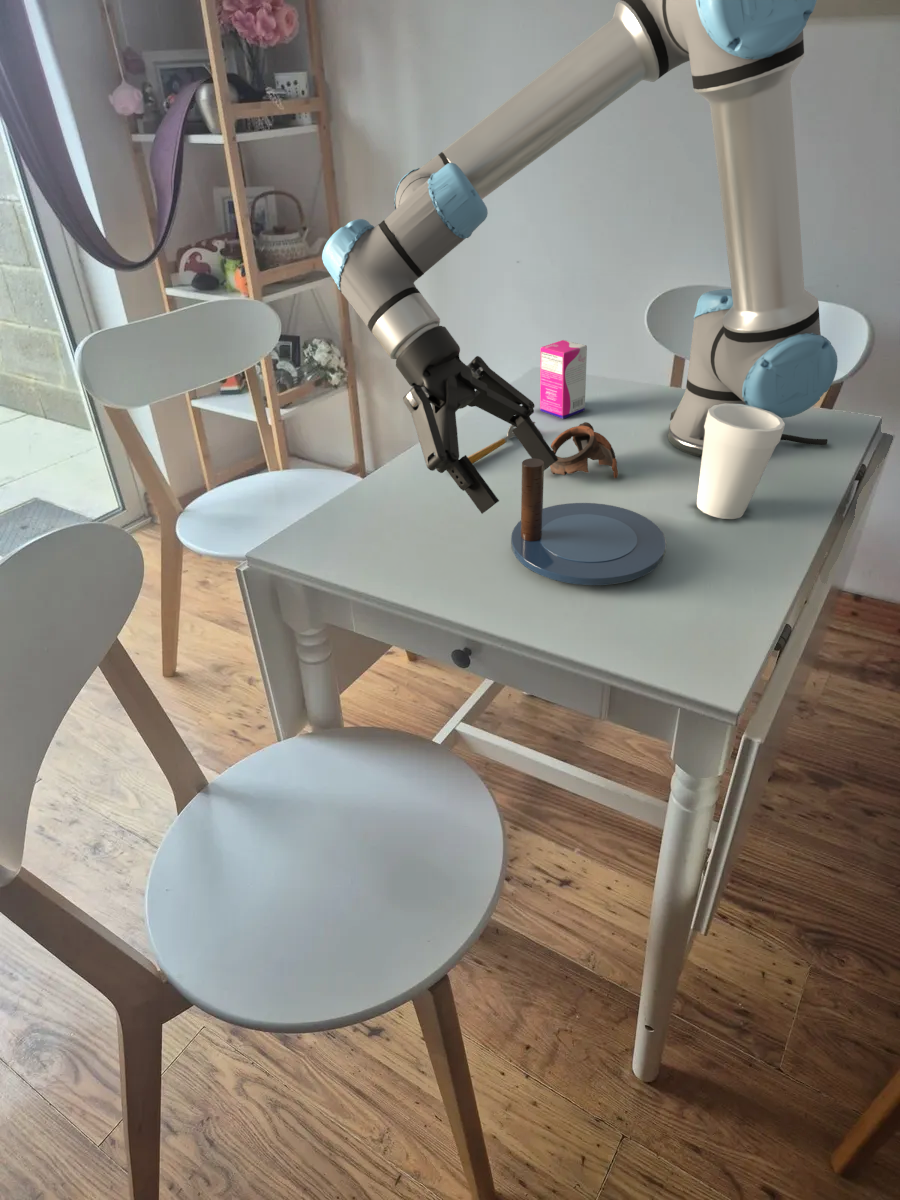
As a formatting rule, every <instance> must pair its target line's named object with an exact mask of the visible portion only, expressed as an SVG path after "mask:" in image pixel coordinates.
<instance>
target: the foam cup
mask: <svg viewBox="0 0 900 1200" xmlns="http://www.w3.org/2000/svg"><path fill="white" fill-rule="evenodd" d="M785 426H786V423H785V422H784V420H783V418H780V417H779V416H777V415H775V414H774V413H772V412H770V411H767V410H764V409H761V408H757V407H753V406H748V405H743V404H727V403H725V404H719V405H714V406H712V407H711V408H710V409H709V410H708V413H707V417H706V421H705V425H704V428H705V436H704V444H703V452H702V457H701V460H700V469H699V480H698V487H697V495H696V507H697V508H698V510H700V511H701V512H702V513H703V514H706V515H708V516H710V517H714V518H718V519H723V520H735V519H739V518H741V517H743V515H744V514H745V511H746V510H747V509H748V506H749V504H750V502H751V500H752V498H753V495H754V494H755V491H756V489H757V487H758V485H759V483H760V481H761V479H762V476H763V475H764V472H765V471H766V468H767V467H768V464H769V461H770V460H771V457H772V455H773V453H774V451H775V449H776V447H777V445H778V444H780V442H781V440H780V439H781V436H782V434H784V433H783V432H784V430H785Z"/></svg>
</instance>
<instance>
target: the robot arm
mask: <svg viewBox="0 0 900 1200" xmlns="http://www.w3.org/2000/svg"><path fill="white" fill-rule="evenodd" d="M817 2H818V1H817V0H619V1H618V2H617V3H616V4H615V7H614V11H613V16H612V18H611V19H610V20H609V21H607V22H606V23H605V24H603V25H602V26H601V27H600V28H598V29H597V30H596V31H594V32H593V33H592V34H590V36H588V37H586V39H584V40H583V41H582V42H581V43H579V44H578V45H576V46H575V47H574V48H573V49H572V50H570V51H569V52H567V53H566V54H565V55H564V56H563V57H561V58H559V60H557V61H556V62H554V63H553V64H552V65H550V67H548V68H547V69H545V70H544V71H543V72H542V73H540V74H539V75H538V76H537V77H535V78H533V80H531V81H530V82H529V83H528V84H526V85H524V87H522V88H521V89H520V90H519V91H517V92H516V93H515V94H513V95H512V96H511V97H510V98H508V99H507V100H505V102H503V103H502V104H501V105H499V106H498V107H496V109H494V110H493V111H492V112H490V113H489V114H488V115H486V116H485V117H484V118H482V119H481V120H480V121H478V122H477V123H476V124H475V125H474V126H472V127H471V128H470V129H468V130H467V131H466V132H465V133H463V134H462V135H461V136H459V137H458V138H457V139H455V140H454V141H453V142H451V143H450V144H449V145H447V147H445V148H444V149H442V151H441V152H439V153H438V154H437V155H436V156H433V158H431V159H430V160H429V161H427V162H426V163H425V164H423V166H421V167H417V168H415V169H412V170H410V171H408V172H407V173H406V174H404V176H402V178H401V179H400V181H398V184H397V186H396V189H395V192H394V199H393V200H394V201H393V206H394V210H393V211H392V212H391V213H390V214H389V215H387V217H386V218H385V219H384V220H382V221H381V222H380V223H378V224H376V226H374V225H373V224H371V223H370V222H369V221H368V220H367V219H364V218H356V219H353V220H351V221H349V222H347V224H346V225H344V226H341V227H339V228H338V229H337V230H336V231H335V232H334V233H333V234H332V235H331V236H330V237H329V239H328V240H327V241H326V243H325V245H324V247H323V249H322V253H321V260H322V263H323V266H324V268H325V269H326V270H327V272H328V273H329V275H330V276H331V278H332V279H333V281H334V283H335V284H336V286H337V289H338V291H339V292H340V293H341V294H342V295H343V297H344V298H345V299H346V300H347V302H348V303H349V304H350V305H351V307H352V308H353V309H354V311H355V312H356V314H357V315H358V316H359V318H360V319H361V320H362V322H363V323H364V324H365V326H366V327H367V329H368V330H369V331H370V332H371V334H373V336H374V337H375V339H376V340H377V341H378V343H379V344H380V346H381V347H382V349H383V350H384V351H385V353H386V355H388V357H389V358H390V359H391V360H395V367H396V368H397V369H398V371H399V373H400V374H401V375H402V377H403V378H404V379H405V381H406V382H407V383H408V385H409V386H410V387H411V388H410V390H408V391H407V393H405V395H404V396H403V398H402V400H403V403H404V404H405V406H406V408H407V410H408V411H409V413H410V414H411V418H412V421H413V424H414V427H415V432H416V434H417V435H416V436H417V438H418V441H419V445H420V448H421V451H422V455H423V458H424V462H425V465H426V468H427V469H428V470H429V471H432V472H433V471H435V470H436V471H437V472H438V473H440V474H443V473H444V472H446V471H447V473H448V475H450V477H451V478H452V480H453V481H454V482H455V484H456V485H457V487H458V488H459V489H460V490H462V491H463V492H465V493H466V494H467V496H468V497H469V498H470V500H471V502H473V504H474V505H475V506H476V508H477V509H478V511H479V512H480V513H481V514H484V513H486V512H487V511H488V510H490V509H491V508H492V507H493V506H495V505H496V504H497V503H498V502H500V499H499V498H498V497H497V496H496V494H495V493H494V492H493V490H492V489H491V488H490V486H489V485H488V484H487V483H488V482H486V481H485V479H484V478H483V476H482V475H481V473H479V471H478V469H477V468H476V467H475V465H473V464H474V463H473V464H472V463H471V461H470V460H469V459H468V457H469V456H467V455H466V454H465V455H463V456H462V457H460V449H459V447H460V446H459V440H458V439H459V438H458V426H457V416H456V412H457V411H458V410H461V409H464V408H466V407H467V406H468V407H469V408H470V407H471V408H472V407H473V408H474V407H476V408H479V409H480V410H482V411H484V412H486V413H488V414H490V415H492V416H494V417H496V418H498V419H500V420H502V421H504V422H506V423H508V424H510V426H511V425H513V426H516V427H514V428H515V429H514V430H512V432H513V433H514V434H515V436H514V437H516V439H517V440H518V441H519V443H520V444H521V445H522V447H523V448H524V450H525V451H526V453H527V454H528V456H530V458H536V459H540V460H542V461H543V462H544V471H545V470H547V469H548V468H549V467H550V466H551V465H552V464H553V463H555V462H556V461H557V460H558V458H557V457H556V456H557V455H556V454H554V453H553V451H552V450H553V449H552V448H551V446H549V444H548V443H547V442H546V440H545V438H544V436H543V434H542V433H541V431H540V430H539V428H538V427H537V425H536V423H535V424H534V423H533V422H534V421H533V420H532V418H531V415H533V414H534V413H535V410H534V408H535V407H536V405H535V403H534V401H532V400H531V399H530V398H529V397H528V396H526V395H524V393H522V392H521V391H519V390H518V389H517V388H516V387H515V386H513V385H512V384H511V383H510V382H509V381H507V380H506V379H504V378H503V377H502V376H500V375H499V374H498V373H496V372H495V371H494V370H493V369H491V368H490V367H489V365H488V364H487V363H486V361H485V360H484V359H483V358H482V357H481V356H479V355H476V356H475V357H474V358H473V359H472V360H471V361H470V362H469V363H467V364H466V363H464V362H463V361H462V360H461V357H460V353H461V347H460V345H459V344H458V342H457V341H456V340H455V338H454V336H453V335H452V334H451V332H450V331H449V330H448V329H447V328H446V326H443V325H440V324H441V318H440V317H439V316H438V314H437V313H436V312H435V310H434V309H433V308H432V306H431V305H430V304H429V302H428V301H427V299H426V298H425V297H424V296H423V294H422V293H421V292H420V290H419V289H418V288H417V287H416V284H415V282H416V281H417V280H418V279H420V278H421V277H422V276H424V275H425V273H426V272H428V271H429V270H430V269H431V268H432V267H434V266H435V265H436V264H437V263H439V262H440V261H441V260H442V259H443V258H444V257H445V256H446V255H448V254H449V253H450V252H452V251H453V250H454V249H455V248H457V246H459V245H460V244H461V243H462V242H463V241H465V240H466V239H469V238H470V237H471V236H472V234H473V232H474V231H475V230H477V229H478V228H479V226H480V225H482V223H484V222H485V221H486V219H487V217H488V214H489V213H488V207H487V205H486V203H485V202H484V200H483V199H485V198H486V197H487V196H489V195H490V194H492V193H493V192H494V191H495V190H497V189H498V188H500V187H501V186H502V185H503V184H505V183H506V182H507V181H509V180H510V179H512V178H513V177H515V176H516V175H517V174H518V173H519V172H522V170H523V169H525V168H527V166H529V165H530V164H531V163H533V162H535V161H536V160H537V159H538V158H540V157H541V156H542V155H544V154H545V153H547V152H548V151H549V150H551V149H552V148H553V147H555V146H556V145H557V144H558V143H560V142H561V141H563V140H564V139H565V138H567V137H568V136H569V135H570V134H572V133H573V132H574V131H576V130H577V129H579V128H580V127H581V126H583V125H584V124H586V122H588V121H589V120H591V119H592V118H593V117H595V116H596V115H597V114H599V113H600V112H601V111H603V110H604V109H605V108H607V107H608V106H609V105H611V104H612V103H614V102H616V100H618V98H621V96H623V95H624V94H625V93H627V92H628V91H630V90H631V89H633V88H634V87H635V86H636V85H638V84H639V83H640V82H642V81H645V82H650V83H655V82H656V81H658V80H660V78H662V77H663V76H664V75H666V74H667V73H669V72H670V71H672V70H673V69H675V68H678V67H679V66H681V65H683V64H685V63H687V62H689V65H690V72H691V79H692V89H693V92H694V93H695V94H697V95H698V96H699V97H701V98H703V99H704V100H705V101H706V102H707V103H708V104H709V109H710V111H709V112H710V118H711V127H712V128H711V129H712V135H713V143H714V144H713V145H714V152H715V161H716V168H717V175H718V176H717V178H718V186H719V187H718V188H719V194H720V195H719V196H720V204H721V212H722V220H723V229H724V239H725V246H726V255H727V263H728V271H729V279H730V280H729V281H730V288H722V289H715V290H709V291H706V292H704V293H702V294H701V295H700V297H699V298H698V301H697V303H696V307H695V308H696V309H695V313H694V315H693V327H692V337H691V345H690V351H689V361H688V368H687V376H686V377H687V378H686V385H685V391H684V393H683V395H682V397H681V399H680V402H679V403H678V406H677V408H675V409H674V410H673V411H672V412H670V418H669V421H670V422H669V424H668V433H667V438H668V441H669V443H670V444H671V445H672V446H673V447H675V448H676V449H678V450H679V451H682V452H683V453H687V454H689V455H692V456H696V457H701V458H702V452H703V444H704V436H705V428H704V425H705V421H706V417H707V413H708V410H709V409H710V408H711V407H712V406H714V405H719V404H725V403H727V404H743V405H748V406H753V407H757V408H761V409H764V410H767V411H770V412H772V413H774V414H775V415H777V416H779V417H780V418H782V419H786V418H792V417H794V416H798V415H800V414H803V413H804V412H806V411H807V410H809V409H811V408H812V407H814V406H815V405H816V404H817V403H818V402H819V401H820V400H821V397H822V396H823V395H824V394H825V393H827V392H828V391H829V390H830V388H831V386H832V384H833V382H834V380H835V377H836V375H837V370H838V363H839V361H838V355H837V352H836V349H835V347H834V346H833V344H832V342H831V341H830V340H829V339H828V338H827V337H825V336H824V335H822V334H821V321H820V320H821V319H820V303H819V300H818V298H817V296H815V295H814V294H812V293H810V292H809V291H808V290H806V288H805V281H804V279H805V278H804V263H803V250H802V249H803V246H802V233H801V217H800V205H799V189H798V188H799V187H798V172H797V159H796V158H797V157H796V156H797V155H796V143H795V130H794V129H795V128H794V127H795V126H794V114H793V111H794V110H793V98H792V97H793V96H792V84H791V81H792V76H793V74H794V72H795V71H796V70H797V68H798V66H799V65H800V64H801V62H802V61H803V59H804V58H805V41H804V40H805V39H804V29H805V27H806V26H807V23H808V21H809V19H810V16H811V14H813V12H814V10H815V8H816V4H817ZM780 441H786V442H792V443H798V444H803V445H812V446H827V445H828V442H829V441H828V438H812V437H803V436H797V435H793V434H786V433H782V436H781V439H780Z"/></svg>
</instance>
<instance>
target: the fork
mask: <svg viewBox="0 0 900 1200" xmlns="http://www.w3.org/2000/svg"><path fill="white" fill-rule="evenodd" d="M532 422H533V423H534V424H535V425H536V422H535V421H532ZM515 428H516V426H513V425H511V424H510V425H509V428H508V429H507V432H506V436H504V437H502V438H500V439H498V440H496V441H494V442H493V443H491V444H489V445H487V446H485V447H483V448H482V449H480V450H478V451H476V452H474V453H473V454H470V455H469V456H467V457H468V459H469V460H470V461H471V463H472V464H475V463H476V462H478V461H480V460H482V458H484V457H486V456H488V455H489V454H490V453H492V452H494V451H496V450H497V449H499V448H500V447H502V446H503V445H505V444H507V441H508V440H510V439H512V438H513V437H516V436H515V434H514V433H513V432H512V430H514V429H515Z"/></svg>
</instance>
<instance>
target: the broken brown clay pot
mask: <svg viewBox="0 0 900 1200" xmlns="http://www.w3.org/2000/svg"><path fill="white" fill-rule="evenodd" d="M571 439H572V441H573V443H574V445H575V447H576V448H577V451H578V452H577V453H575V454H573V455H570V456H567V457H562V456H557V455H556V453H557V452H558V451H559V449H560V447H562V445H564V444H565V443H566V442H567V441H569V440H571ZM550 448H551V450H552V451H553V453H554V454H555V455H556V457H557V458H558V460H557V461H556V462H555V463H553V464H552V465H551V466H549V467H550V468H549V469H550V472H551V473H552V475H556V474H558V475H561V476H567V474H568V475H571V474H575V473H578V472H583V473H586V474H587V473H588V474H589V473H590V471H589V465H588V463H589V459H590V460H592V461H598V462H597V463H598V465H599V466H609V467H611V470H612V472H613V478H614V479H617V478H618V476H619V470H618V462H617V458H616V455H615V454H616V453H615V451H614V448H613V446H612V444H611V443H610V441H609V440H608V439H607V438H606V437H605V436H604V435H602V434H601V433H599V432H597V431H595V430H594V427H593V425H592V424H591V423H589V422H587V421H584V422H583V423H579V425H576V426H573V427H570V428H568V429H566V430H564V431H563V432H561V433H560V434H558V435H557V437H555V439H554V440H553V441H552V443H551V444H550Z"/></svg>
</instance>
